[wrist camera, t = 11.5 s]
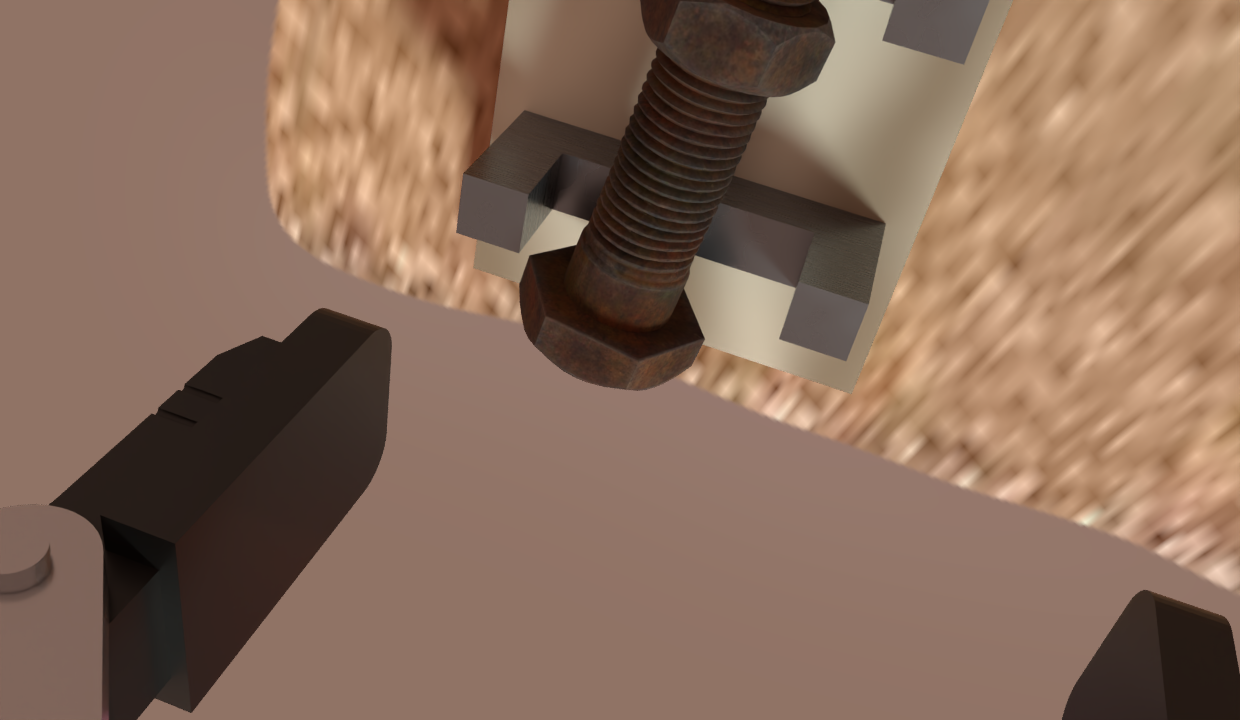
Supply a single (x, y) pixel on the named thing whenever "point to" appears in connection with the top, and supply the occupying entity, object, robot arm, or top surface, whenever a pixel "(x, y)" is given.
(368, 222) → the top surface
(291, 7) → the top surface
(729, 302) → the collar board
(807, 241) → the grey notched cradle
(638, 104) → the bolt
